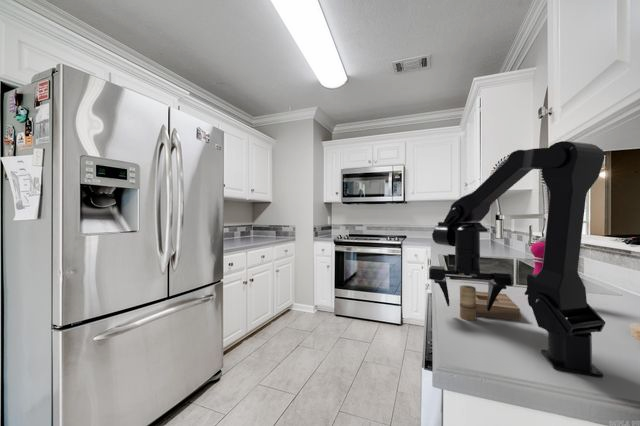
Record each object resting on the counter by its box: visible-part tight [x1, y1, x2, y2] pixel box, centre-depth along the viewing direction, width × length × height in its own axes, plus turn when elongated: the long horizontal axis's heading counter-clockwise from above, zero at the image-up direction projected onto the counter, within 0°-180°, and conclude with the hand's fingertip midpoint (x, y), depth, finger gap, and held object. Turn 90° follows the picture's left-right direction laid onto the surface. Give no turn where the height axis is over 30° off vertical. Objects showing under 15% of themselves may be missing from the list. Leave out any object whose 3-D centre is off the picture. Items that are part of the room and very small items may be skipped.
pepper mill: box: [530, 236, 546, 274], centre depth 84 cm, size 7×7×20 cm
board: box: [476, 290, 521, 321], centre depth 77 cm, size 14×12×3 cm
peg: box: [459, 284, 477, 321], centre depth 70 cm, size 4×4×8 cm
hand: (467, 308), depth 70 cm, fingers open, 9 cm apart
